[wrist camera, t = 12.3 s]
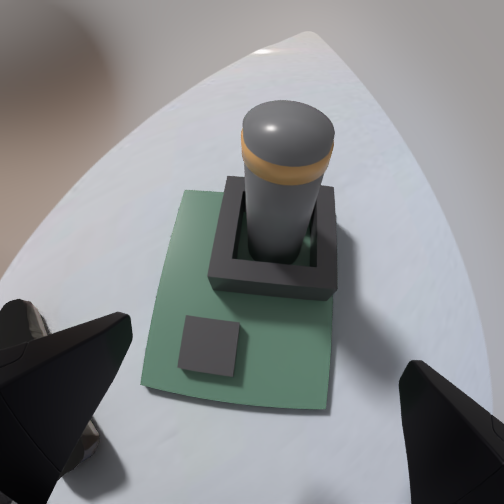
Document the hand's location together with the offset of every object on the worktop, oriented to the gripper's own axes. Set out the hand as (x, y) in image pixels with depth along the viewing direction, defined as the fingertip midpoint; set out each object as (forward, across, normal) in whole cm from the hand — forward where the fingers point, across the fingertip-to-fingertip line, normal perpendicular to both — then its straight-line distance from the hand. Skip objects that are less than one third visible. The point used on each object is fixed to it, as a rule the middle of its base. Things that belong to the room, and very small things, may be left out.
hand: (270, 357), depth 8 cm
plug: (+16, 0, +2) cm, 16 cm away
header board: (+14, +2, +5) cm, 15 cm away
